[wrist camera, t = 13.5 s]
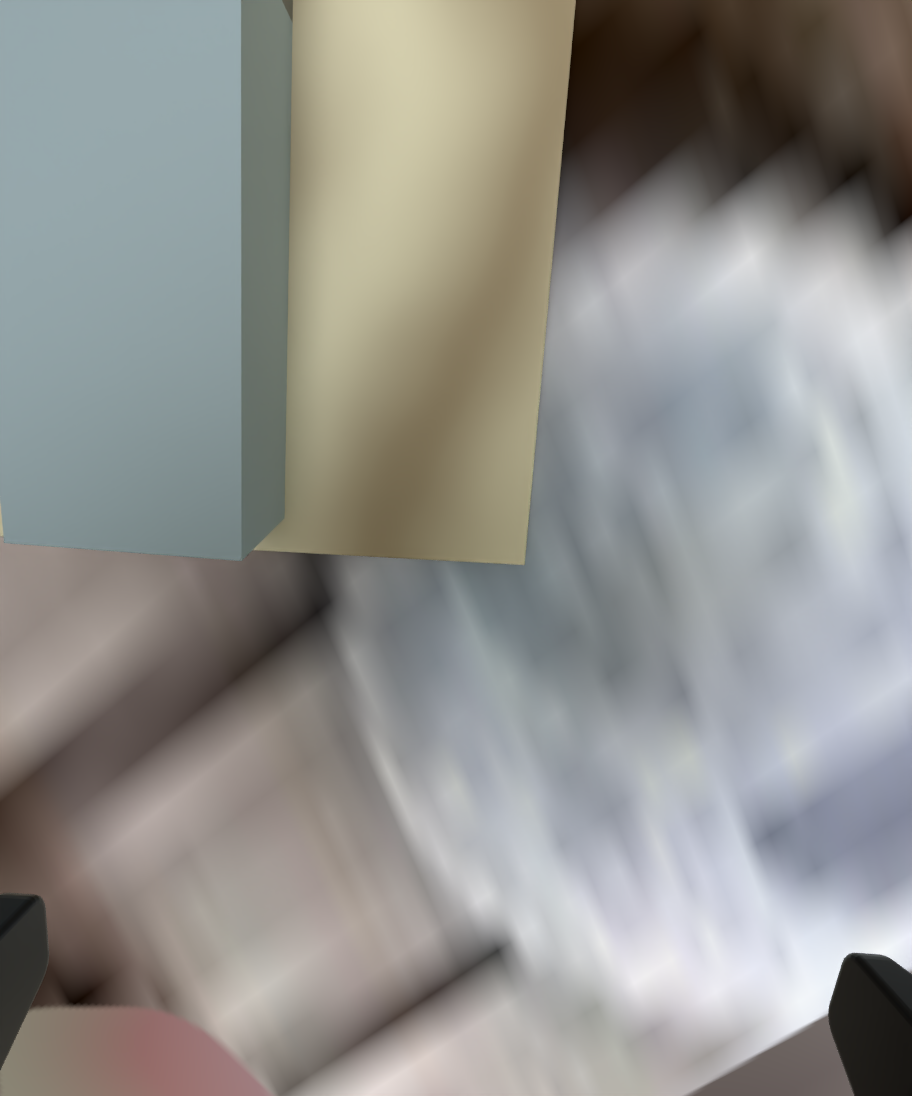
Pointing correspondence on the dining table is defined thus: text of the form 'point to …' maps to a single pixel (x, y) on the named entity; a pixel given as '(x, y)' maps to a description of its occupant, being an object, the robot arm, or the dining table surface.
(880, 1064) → the robot arm
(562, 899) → the dining table surface
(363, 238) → the birch board
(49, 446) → the slate block
